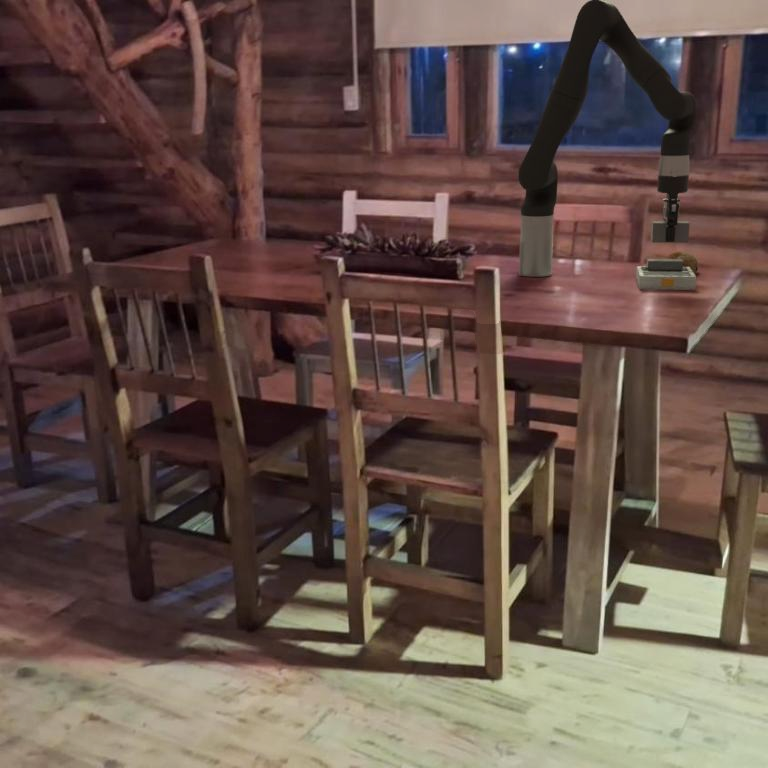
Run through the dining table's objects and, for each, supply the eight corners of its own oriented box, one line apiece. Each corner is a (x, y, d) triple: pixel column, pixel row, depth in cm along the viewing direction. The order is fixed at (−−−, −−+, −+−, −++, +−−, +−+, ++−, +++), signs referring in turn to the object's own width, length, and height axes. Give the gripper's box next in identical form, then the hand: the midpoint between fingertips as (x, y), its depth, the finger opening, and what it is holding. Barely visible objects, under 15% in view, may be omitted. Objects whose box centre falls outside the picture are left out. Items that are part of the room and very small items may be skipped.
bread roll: (689, 289, 247) (704, 264, 244) (656, 272, 249) (671, 247, 246) (689, 282, 256) (704, 258, 253) (657, 266, 258) (671, 242, 254)
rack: (639, 289, 230) (640, 267, 228) (636, 278, 244) (637, 257, 243) (695, 290, 227) (697, 267, 225) (688, 279, 242) (690, 257, 240)
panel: (652, 242, 228) (653, 223, 227) (650, 240, 232) (652, 221, 230) (688, 242, 226) (689, 223, 225) (686, 240, 230) (687, 221, 229)
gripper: (656, 171, 231) (652, 236, 237) (660, 175, 218) (656, 244, 223) (685, 171, 230) (681, 236, 235) (692, 175, 217) (687, 244, 222)
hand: (669, 240), depth 229 cm, fingers closed on panel, 4 cm apart
